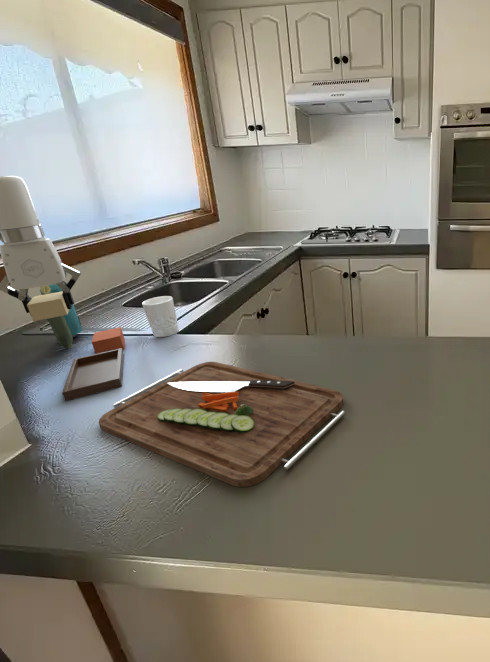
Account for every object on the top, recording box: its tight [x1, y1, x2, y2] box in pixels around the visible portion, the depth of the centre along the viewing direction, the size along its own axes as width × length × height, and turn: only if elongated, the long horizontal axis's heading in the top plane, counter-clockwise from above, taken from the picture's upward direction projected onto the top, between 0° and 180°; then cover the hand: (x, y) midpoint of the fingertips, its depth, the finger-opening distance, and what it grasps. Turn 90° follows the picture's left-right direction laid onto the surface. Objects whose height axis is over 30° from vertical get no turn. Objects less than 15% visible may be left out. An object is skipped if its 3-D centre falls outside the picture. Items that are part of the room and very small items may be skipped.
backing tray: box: [61, 348, 125, 402], centre depth 99 cm, size 11×20×2 cm, turn 28°
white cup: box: [141, 295, 180, 338], centre depth 121 cm, size 8×8×10 cm
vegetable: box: [39, 285, 74, 350], centre depth 113 cm, size 4×4×20 cm
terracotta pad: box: [91, 326, 126, 354], centre depth 114 cm, size 6×8×4 cm
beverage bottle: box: [39, 284, 83, 336], centre depth 121 cm, size 6×7×20 cm
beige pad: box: [27, 291, 70, 322], centre depth 99 cm, size 6×8×4 cm
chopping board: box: [98, 361, 346, 488], centre depth 80 cm, size 45×27×3 cm, turn 61°
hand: (52, 310), depth 100 cm, fingers closed on beige pad, 6 cm apart
